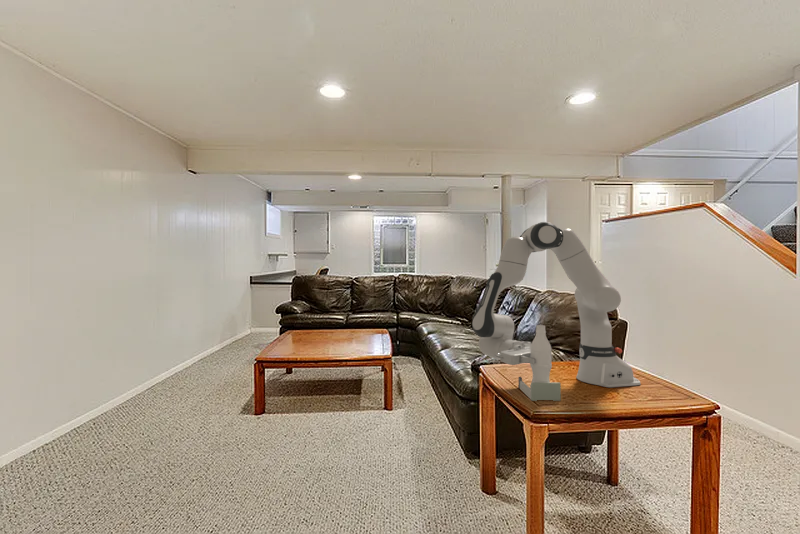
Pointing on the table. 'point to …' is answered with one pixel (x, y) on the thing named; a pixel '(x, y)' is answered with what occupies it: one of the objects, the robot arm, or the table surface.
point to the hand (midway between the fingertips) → (542, 359)
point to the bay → (542, 390)
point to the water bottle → (541, 356)
